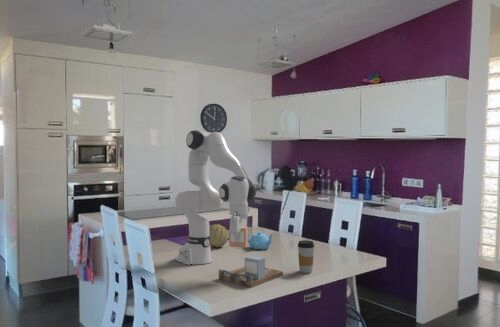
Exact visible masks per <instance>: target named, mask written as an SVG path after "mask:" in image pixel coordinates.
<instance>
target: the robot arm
mask: <svg viewBox="0 0 500 327" xmlns="http://www.w3.org/2000/svg"><path fill="white" fill-rule="evenodd" d="M185 143H186V145H187V148H189V149H190V151H189V154H188V162H187V163H188V164H187V166H188V167H187V169H188V170H187V171H188V181H189V182H190V183H191V184H192V185H194V186H196V187H198V188H199V190H186V191H181V192H179V193H177V195H176V197H175V202H174V203H175V206H176V208H177V209H178V210H179V211H180V212H182V213H183V214H184V215H185V217H186V219H187V222H188V234H189V235H188V236H187V237H185V239H186V243H184V244H183V245H182V246H181V247H180V248H179V249H178V254H177V255H178V256H176V257H174V258H173V260H174V259H175V260H174V261H176V260H177V262H178V261H179V263H181V262H182V264H184V265H186V264H187V265H188V266H191V265H190V264H192V265H207V264H210V263H212V262H213V256H212V249H211V246H210V235H209V226H210V222H209V219H207V218H206V217H204V216H201V215H200V214H199V213H198V212H200V211H201V212H202V211H204V212H205V211H215V210H218V209H219V210H220V208H221V207H222V205H223V202H225V203H229V204H228V206H229V209H228V210H229V212H228V213H229V214H228V215H230V220H229V228H230V233H234V237H235V241H239V232H240V231H241V228H242V227H244V226H246V227H248V217H249V216H248V215H249V214H248V213H249V212H250V208H249V203H250V202H252V201H253V200H254V199H255V198H256V196H257V189H256V187H255V185H254V183H253V182H252V181H251V179H250V178H249V176H248V174H247V172H246V170H245V168H244V167H243V166H244V165H243V164H242V163H241V161H240V159H239V158H238V157H237V156H235V155H234V154H233V153H232V152H231V150H230V149H229V146H228V143H227V141H226V139H225V137H224V136H223V134H222V133H221V132H218V131H213V132H210V131H202V130H201V131H200V130H197V129H196V130H191V131H189V132H188V133H187V135H186V138H185ZM208 160H210V162H211V163H212V164H213V165H214V166H215V167H218V168H221V169H226V170H228V171H231V172H232V173H233V174H234V176H231V177H230V178H229V181H227V182H225V183H222V184H221V186H219V190H217V189H216V188H215V187H214V186H213V184H212V183H211V180H210V175H209V161H208ZM187 265H186V266H187Z"/></svg>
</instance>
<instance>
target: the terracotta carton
mask: <svg viewBox="0 0 500 327" xmlns="http://www.w3.org/2000/svg"><path fill="white" fill-rule="evenodd" d="M228 230H229V231H228V244H229V245H228V246H229V247H230V248H231V247H232V248H247V247H249V243H248V233H249V226H244V227H242V228H241V231H240V232H239V241H235V237H234V233H230V227H229V229H228Z"/></svg>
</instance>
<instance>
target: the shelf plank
mask: <svg viewBox="0 0 500 327" xmlns="http://www.w3.org/2000/svg"><path fill="white" fill-rule="evenodd" d="M283 275H284V271H282V270H278V269H273V268H269V267H265V278H262V279H259V280H257V279H253V277H251V276H247V275H245V266H242V267H240V268H235V269H233V270H226V269H222V268H221V269H220V268H219V269H218V280H221V281H224V282H228V283H229V282H230V283H232V284H237V285H240V286H241V285H242V286H243V287H244V286H245V287H247V288H248V287H249V288H254V287H256V286H258V285H262V284H265V283H267V282H269V281H272V280H274V279H277V278H280V277H282V276H283Z"/></svg>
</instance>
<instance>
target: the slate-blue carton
mask: <svg viewBox="0 0 500 327" xmlns="http://www.w3.org/2000/svg"><path fill="white" fill-rule="evenodd" d="M244 267H245V275H247V276H251V277H253V279H257V280H259V279H262V278H265V268H266V258H265V257H262V256H256V255H248V256H245V257H244Z"/></svg>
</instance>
